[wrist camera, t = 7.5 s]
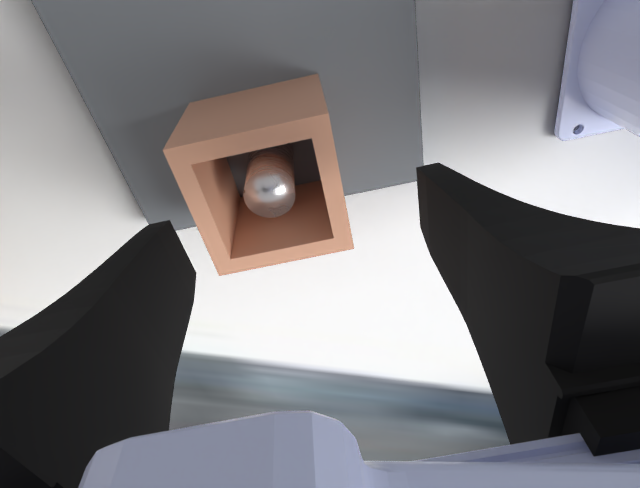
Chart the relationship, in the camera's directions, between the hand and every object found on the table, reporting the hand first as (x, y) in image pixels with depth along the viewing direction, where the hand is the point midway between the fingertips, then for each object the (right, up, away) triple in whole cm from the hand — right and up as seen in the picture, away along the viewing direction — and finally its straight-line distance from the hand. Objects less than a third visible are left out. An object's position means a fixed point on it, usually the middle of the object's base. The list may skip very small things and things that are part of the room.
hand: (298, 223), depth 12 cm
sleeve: (-2, +4, +7) cm, 8 cm away
